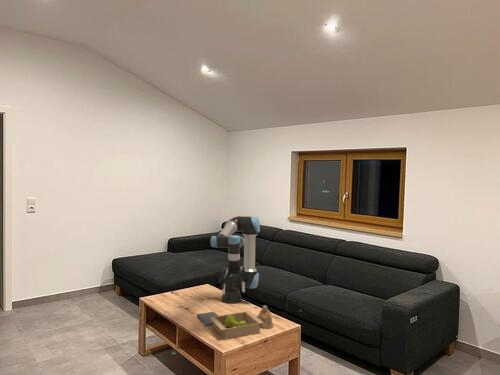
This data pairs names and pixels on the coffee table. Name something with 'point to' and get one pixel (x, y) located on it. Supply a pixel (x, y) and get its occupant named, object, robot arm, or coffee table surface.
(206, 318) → the mat
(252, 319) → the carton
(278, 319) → the coffee table surface
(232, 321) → the dumbbell
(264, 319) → the statue
